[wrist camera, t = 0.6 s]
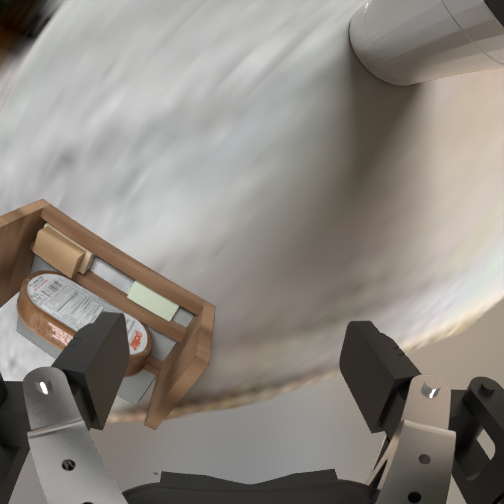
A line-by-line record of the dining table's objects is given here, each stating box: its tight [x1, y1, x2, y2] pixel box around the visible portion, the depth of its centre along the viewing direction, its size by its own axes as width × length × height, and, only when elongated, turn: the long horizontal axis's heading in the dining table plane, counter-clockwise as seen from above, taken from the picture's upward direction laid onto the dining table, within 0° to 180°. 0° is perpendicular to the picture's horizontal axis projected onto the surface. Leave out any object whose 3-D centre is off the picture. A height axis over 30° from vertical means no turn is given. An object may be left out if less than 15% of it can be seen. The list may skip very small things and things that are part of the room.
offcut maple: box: [44, 223, 95, 274], centre depth 27 cm, size 2×6×2 cm, turn 57°
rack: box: [0, 199, 215, 430], centre depth 26 cm, size 11×21×9 cm, turn 56°
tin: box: [17, 271, 152, 378], centre depth 26 cm, size 15×3×8 cm, turn 59°
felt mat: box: [16, 316, 155, 405], centre depth 32 cm, size 7×19×1 cm, turn 56°
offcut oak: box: [33, 226, 86, 278], centre depth 25 cm, size 2×5×2 cm, turn 57°
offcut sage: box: [127, 280, 180, 322], centre depth 30 cm, size 2×5×1 cm, turn 57°
